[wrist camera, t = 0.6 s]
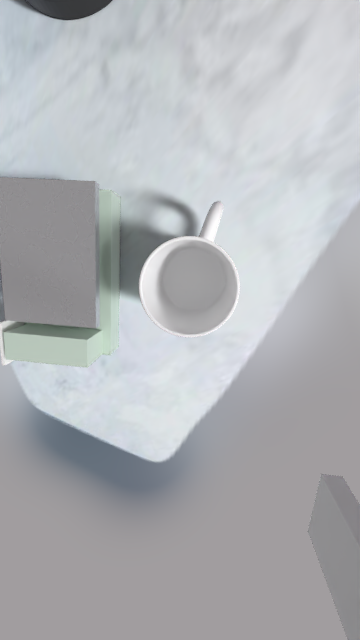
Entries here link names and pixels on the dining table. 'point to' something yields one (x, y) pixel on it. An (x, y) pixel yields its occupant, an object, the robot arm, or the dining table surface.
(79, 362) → the scale base
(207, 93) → the dining table surface
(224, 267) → the cup
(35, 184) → the speckled metal plate
